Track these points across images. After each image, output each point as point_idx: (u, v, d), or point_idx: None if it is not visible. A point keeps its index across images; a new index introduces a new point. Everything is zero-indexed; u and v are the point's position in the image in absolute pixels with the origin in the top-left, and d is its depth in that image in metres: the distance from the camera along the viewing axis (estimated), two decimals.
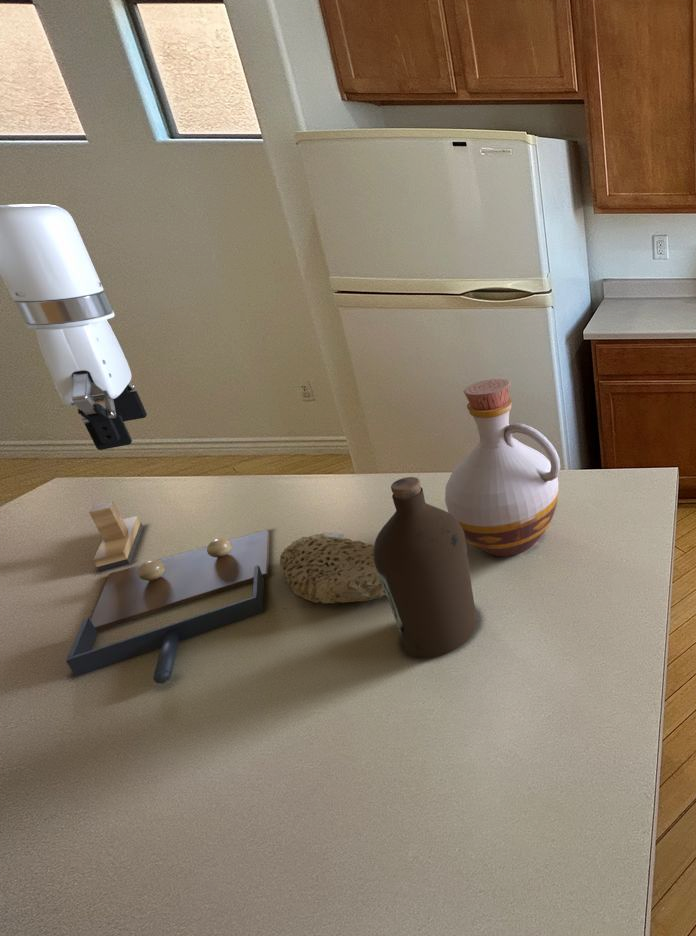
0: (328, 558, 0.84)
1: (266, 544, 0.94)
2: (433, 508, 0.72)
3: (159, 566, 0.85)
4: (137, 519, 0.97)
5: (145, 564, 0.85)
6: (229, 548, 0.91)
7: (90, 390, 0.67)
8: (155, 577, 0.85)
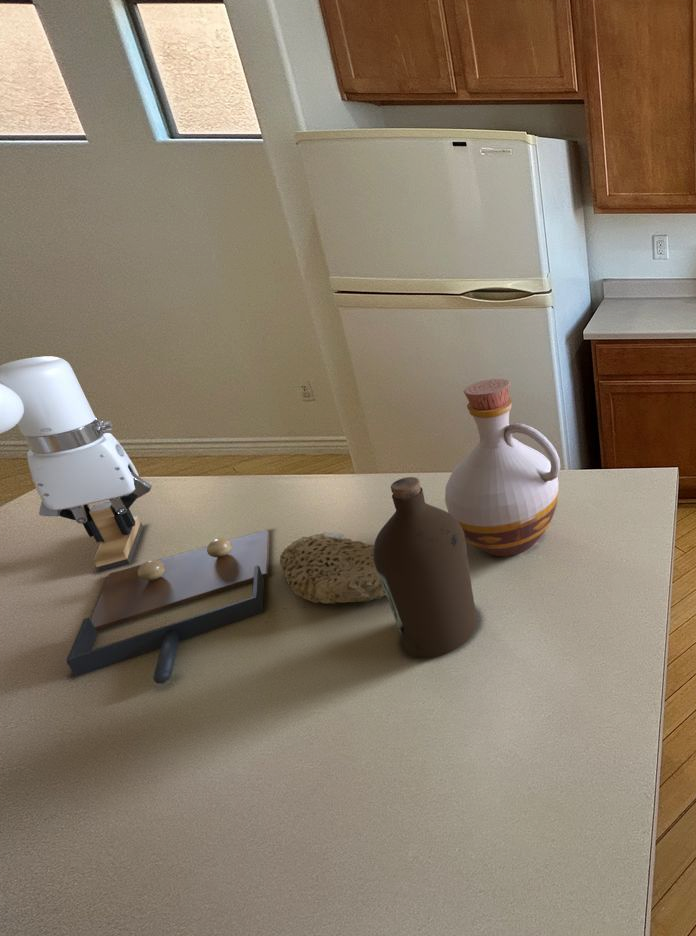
0: (328, 558, 0.84)
1: (266, 544, 0.94)
2: (433, 508, 0.72)
3: (159, 566, 0.85)
4: (137, 519, 0.97)
5: (145, 564, 0.85)
6: (229, 548, 0.91)
7: None
8: (155, 577, 0.85)
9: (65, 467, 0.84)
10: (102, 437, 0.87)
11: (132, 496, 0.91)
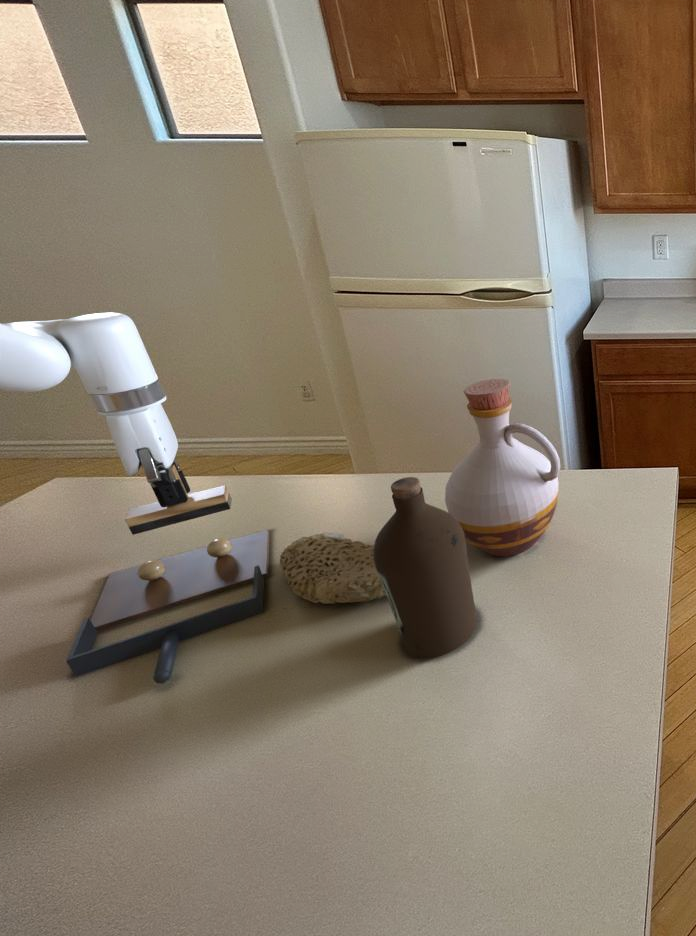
0: (328, 558, 0.84)
1: (266, 544, 0.94)
2: (433, 508, 0.72)
3: (159, 566, 0.85)
4: None
5: (145, 564, 0.85)
6: (229, 548, 0.91)
7: (156, 467, 0.84)
8: (155, 577, 0.85)
9: (161, 418, 0.85)
10: None
11: None
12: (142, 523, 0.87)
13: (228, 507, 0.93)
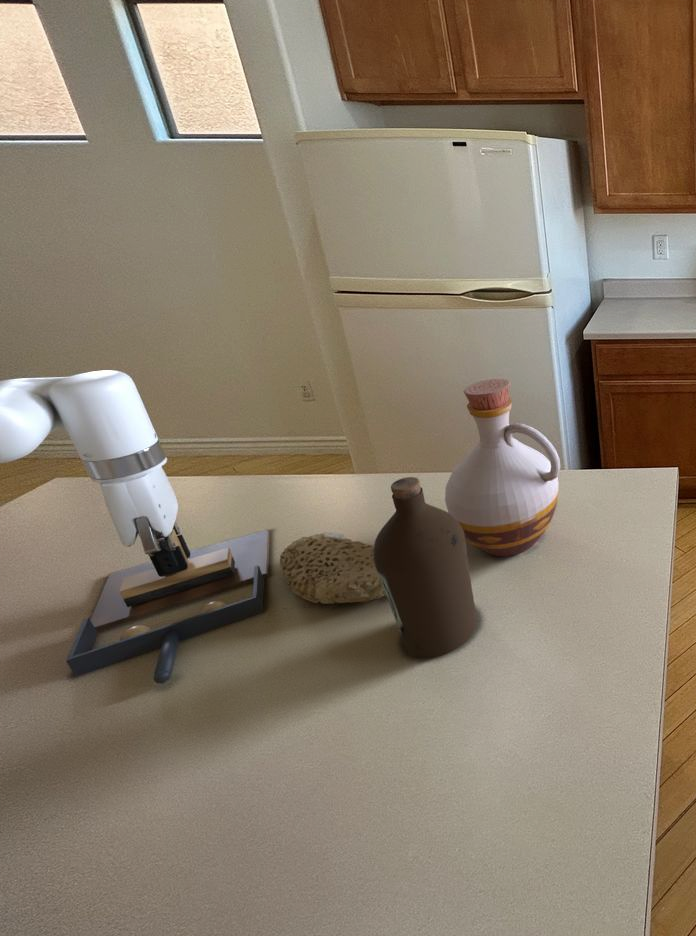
0: (328, 558, 0.84)
1: (266, 544, 0.94)
2: (433, 508, 0.72)
3: None
4: None
5: None
6: (223, 605, 0.79)
7: (155, 536, 0.77)
8: (136, 626, 0.75)
9: (161, 481, 0.78)
10: None
11: None
12: (138, 594, 0.80)
13: (231, 573, 0.86)
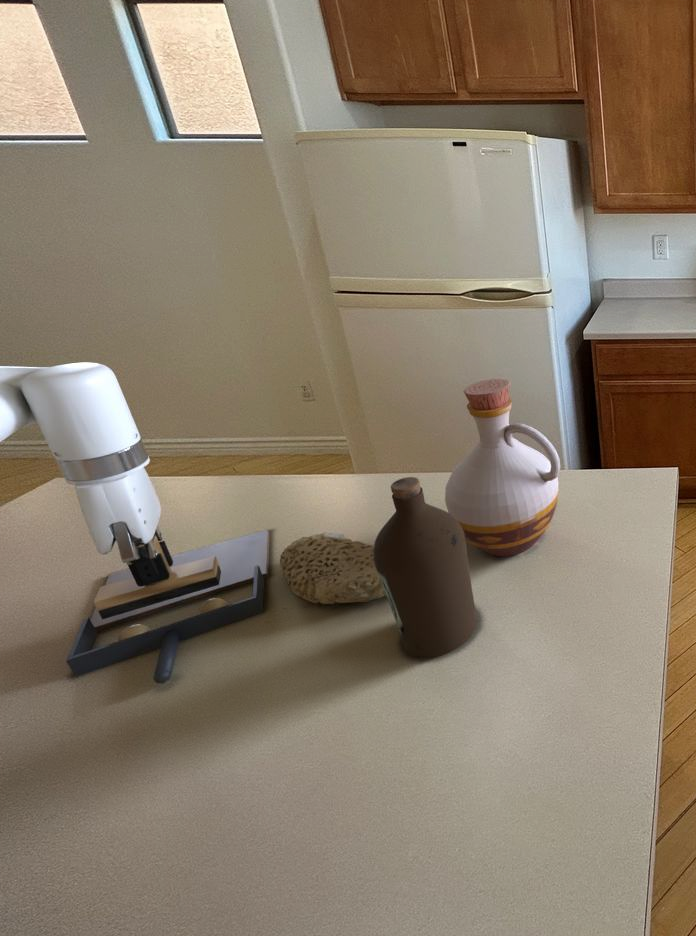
0: (327, 558, 0.84)
1: (266, 544, 0.94)
2: (433, 508, 0.72)
3: None
4: None
5: None
6: (222, 600, 0.80)
7: (134, 543, 0.71)
8: None
9: (142, 483, 0.72)
10: None
11: None
12: (114, 605, 0.74)
13: (217, 583, 0.80)
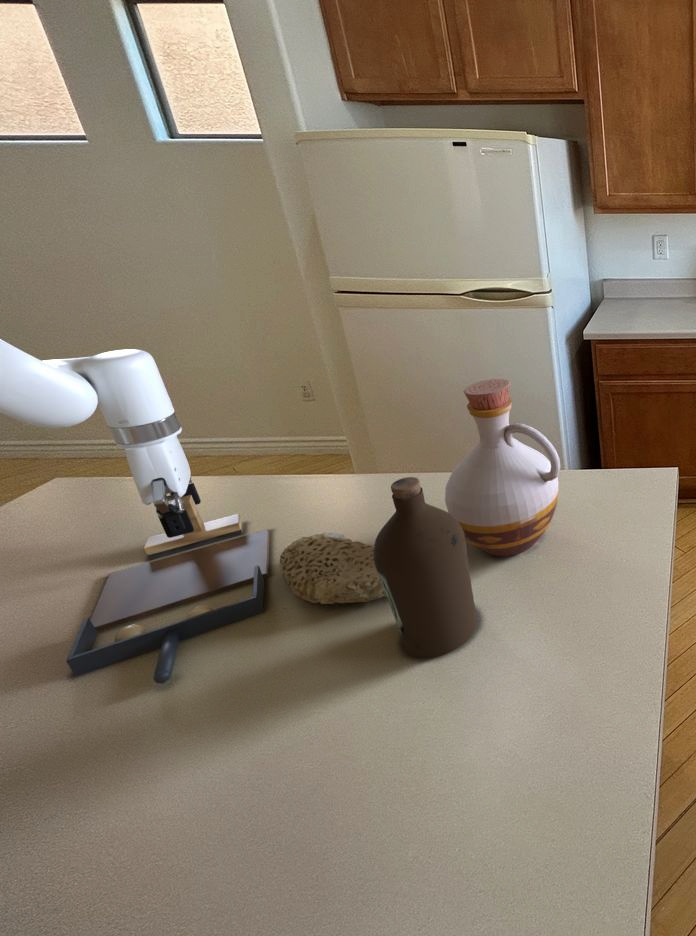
0: (327, 558, 0.84)
1: (266, 544, 0.94)
2: (433, 508, 0.72)
3: None
4: None
5: None
6: (197, 610, 0.77)
7: (165, 493, 0.85)
8: None
9: (176, 448, 0.89)
10: None
11: None
12: (160, 551, 0.91)
13: None
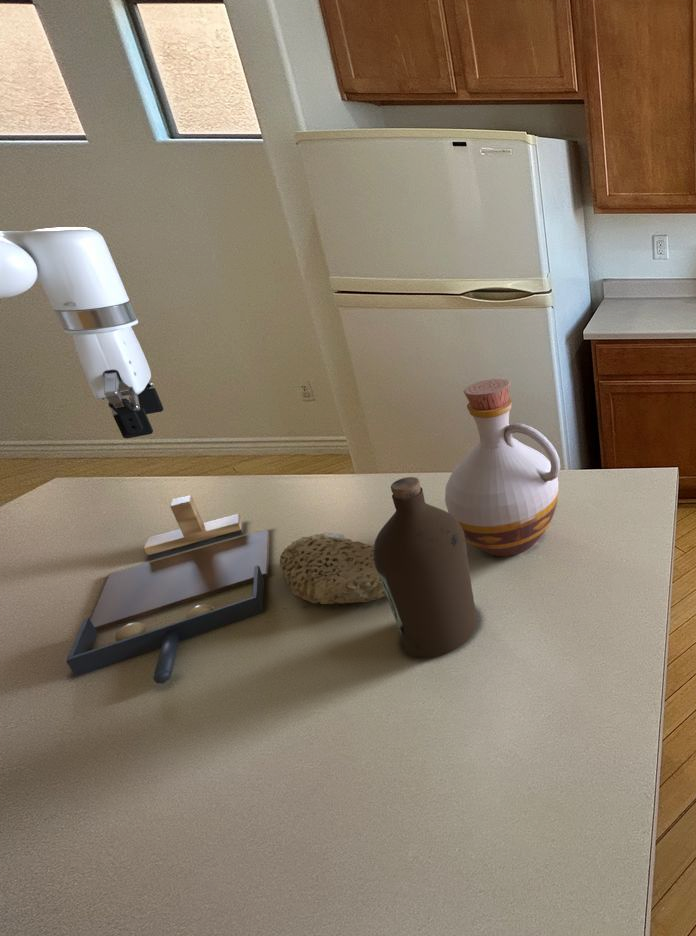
0: (327, 558, 0.84)
1: (266, 544, 0.94)
2: (433, 508, 0.72)
3: None
4: None
5: None
6: (197, 608, 0.78)
7: (119, 386, 0.78)
8: None
9: (132, 342, 0.82)
10: None
11: None
12: (160, 551, 0.91)
13: None
